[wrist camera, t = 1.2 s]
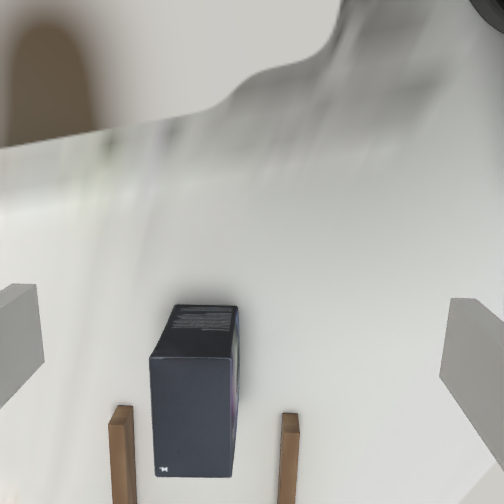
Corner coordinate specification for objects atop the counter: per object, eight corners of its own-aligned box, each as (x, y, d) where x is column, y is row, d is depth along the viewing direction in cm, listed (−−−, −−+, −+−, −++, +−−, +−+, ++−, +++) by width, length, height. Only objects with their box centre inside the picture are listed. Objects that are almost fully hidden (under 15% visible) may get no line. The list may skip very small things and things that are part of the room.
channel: (297, 413, 46) (301, 447, 41) (288, 552, 50) (290, 597, 46) (117, 405, 46) (100, 438, 41) (125, 544, 51) (110, 587, 46)
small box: (241, 403, 46) (235, 483, 36) (176, 402, 46) (151, 480, 36) (241, 304, 43) (234, 359, 33) (172, 303, 43) (143, 358, 33)
